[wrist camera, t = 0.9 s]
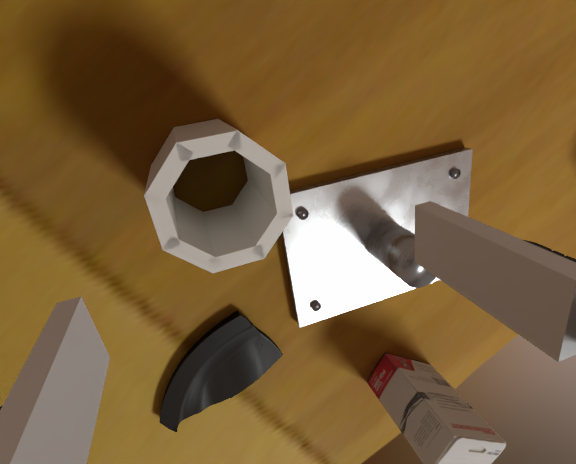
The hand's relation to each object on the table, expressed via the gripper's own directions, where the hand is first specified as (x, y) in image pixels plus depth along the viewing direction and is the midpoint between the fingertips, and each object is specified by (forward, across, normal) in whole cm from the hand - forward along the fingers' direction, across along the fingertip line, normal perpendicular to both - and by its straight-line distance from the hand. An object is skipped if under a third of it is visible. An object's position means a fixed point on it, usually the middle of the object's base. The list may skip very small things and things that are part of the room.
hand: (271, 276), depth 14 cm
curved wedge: (+18, -4, -18) cm, 26 cm away
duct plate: (+17, +14, -9) cm, 24 cm away
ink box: (+17, +16, -29) cm, 38 cm away
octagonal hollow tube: (+17, -1, +1) cm, 17 cm away
